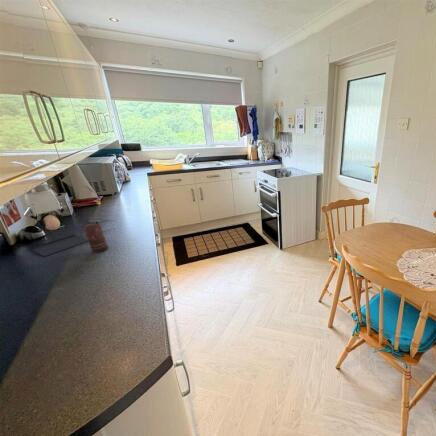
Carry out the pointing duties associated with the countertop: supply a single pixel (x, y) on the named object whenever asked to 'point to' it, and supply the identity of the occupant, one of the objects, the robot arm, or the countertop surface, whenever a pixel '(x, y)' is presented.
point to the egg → (51, 222)
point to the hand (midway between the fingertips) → (52, 224)
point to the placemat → (58, 245)
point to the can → (95, 237)
